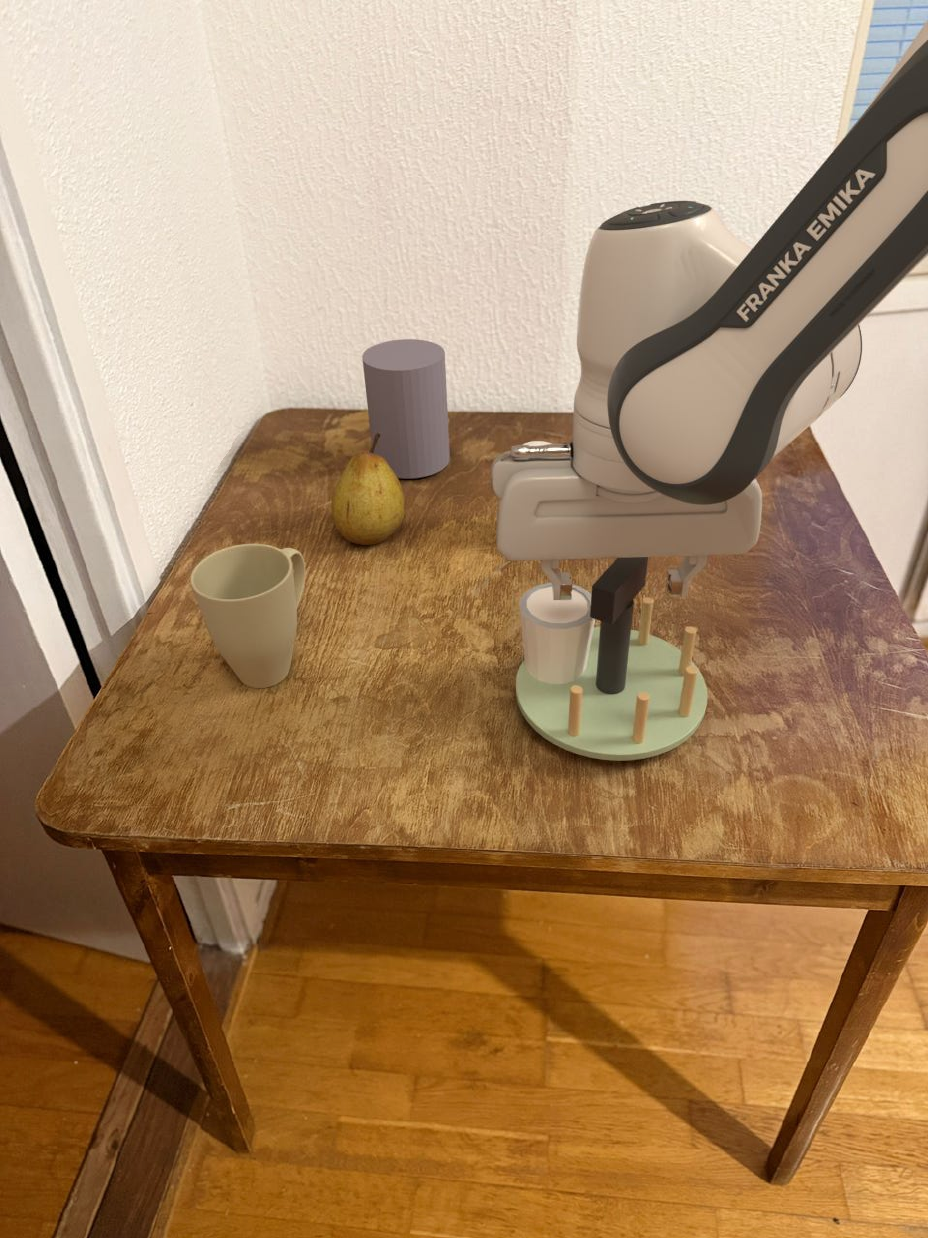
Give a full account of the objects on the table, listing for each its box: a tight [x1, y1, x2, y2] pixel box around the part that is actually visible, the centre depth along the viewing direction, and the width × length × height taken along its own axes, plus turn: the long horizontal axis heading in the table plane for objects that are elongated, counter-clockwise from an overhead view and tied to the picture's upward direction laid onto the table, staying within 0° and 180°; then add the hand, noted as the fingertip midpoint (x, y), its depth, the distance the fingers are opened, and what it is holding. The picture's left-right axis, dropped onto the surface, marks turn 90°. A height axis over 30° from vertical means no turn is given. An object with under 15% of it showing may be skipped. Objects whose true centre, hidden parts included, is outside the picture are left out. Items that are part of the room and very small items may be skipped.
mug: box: [189, 543, 307, 689], centre depth 84 cm, size 11×10×12 cm
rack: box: [515, 557, 708, 762], centre depth 76 cm, size 17×17×13 cm
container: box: [361, 338, 451, 480], centre depth 115 cm, size 10×10×15 cm
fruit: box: [330, 433, 407, 546], centre depth 102 cm, size 9×9×12 cm
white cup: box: [518, 581, 596, 684], centre depth 80 cm, size 7×7×7 cm
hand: (618, 594), depth 73 cm, fingers open, 8 cm apart
